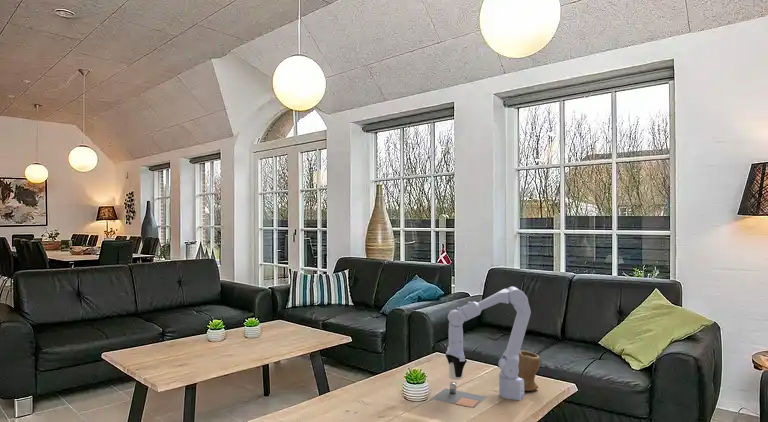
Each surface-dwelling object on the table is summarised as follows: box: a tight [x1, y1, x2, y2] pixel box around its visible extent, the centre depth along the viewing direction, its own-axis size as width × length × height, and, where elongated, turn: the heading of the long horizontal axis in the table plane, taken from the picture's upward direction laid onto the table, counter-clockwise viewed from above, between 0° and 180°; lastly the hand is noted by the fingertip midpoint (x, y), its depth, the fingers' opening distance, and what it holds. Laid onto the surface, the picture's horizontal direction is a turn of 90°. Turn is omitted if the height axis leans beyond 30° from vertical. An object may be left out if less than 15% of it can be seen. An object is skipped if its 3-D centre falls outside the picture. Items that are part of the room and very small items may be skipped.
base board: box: [430, 388, 487, 409], centre depth 201 cm, size 18×14×1 cm
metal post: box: [449, 381, 457, 394], centre depth 206 cm, size 3×3×4 cm
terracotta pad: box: [454, 398, 480, 409], centre depth 195 cm, size 7×7×1 cm
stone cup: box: [518, 349, 541, 392], centre depth 217 cm, size 15×12×15 cm
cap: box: [448, 362, 464, 381], centre depth 204 cm, size 5×5×6 cm
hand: (455, 374), depth 204 cm, fingers closed on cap, 5 cm apart
